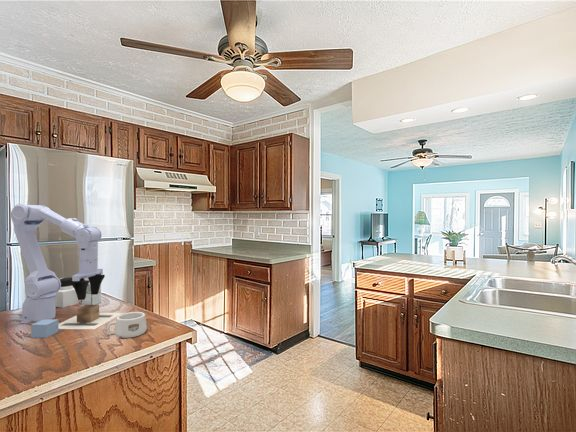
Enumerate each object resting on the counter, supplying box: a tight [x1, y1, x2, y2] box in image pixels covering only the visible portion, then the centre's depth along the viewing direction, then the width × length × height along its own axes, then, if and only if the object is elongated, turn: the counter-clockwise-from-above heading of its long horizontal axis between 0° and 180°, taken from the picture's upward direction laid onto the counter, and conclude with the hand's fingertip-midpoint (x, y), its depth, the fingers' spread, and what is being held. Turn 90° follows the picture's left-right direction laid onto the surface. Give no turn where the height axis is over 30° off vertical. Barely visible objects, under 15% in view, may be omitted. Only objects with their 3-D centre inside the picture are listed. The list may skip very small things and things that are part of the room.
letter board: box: [58, 312, 123, 330], centre depth 114 cm, size 16×18×1 cm
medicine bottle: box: [56, 276, 80, 309], centre depth 136 cm, size 7×7×12 cm
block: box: [76, 304, 100, 323], centre depth 114 cm, size 5×5×5 cm
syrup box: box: [80, 278, 102, 306], centre depth 138 cm, size 6×6×14 cm
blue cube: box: [30, 318, 60, 339], centre depth 100 cm, size 5×5×5 cm
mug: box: [106, 311, 148, 339], centre depth 103 cm, size 12×10×6 cm
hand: (88, 296), depth 114 cm, fingers open, 7 cm apart
